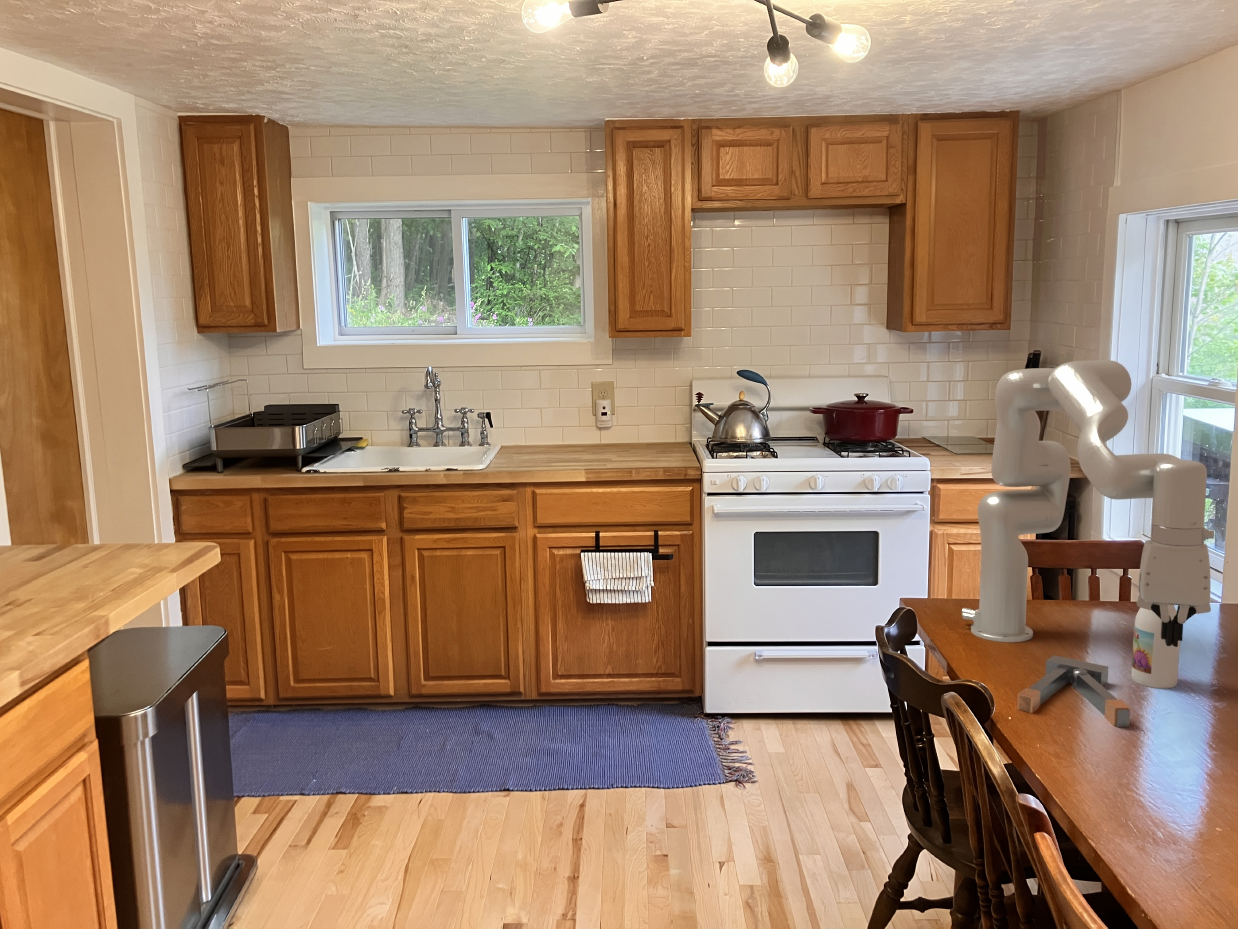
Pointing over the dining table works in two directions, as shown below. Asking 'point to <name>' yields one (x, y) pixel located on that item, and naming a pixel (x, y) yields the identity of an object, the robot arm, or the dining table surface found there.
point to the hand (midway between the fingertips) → (1171, 644)
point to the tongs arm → (1102, 699)
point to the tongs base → (1057, 681)
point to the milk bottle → (1153, 652)
